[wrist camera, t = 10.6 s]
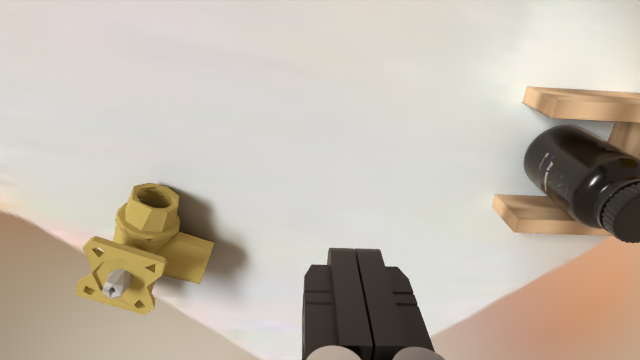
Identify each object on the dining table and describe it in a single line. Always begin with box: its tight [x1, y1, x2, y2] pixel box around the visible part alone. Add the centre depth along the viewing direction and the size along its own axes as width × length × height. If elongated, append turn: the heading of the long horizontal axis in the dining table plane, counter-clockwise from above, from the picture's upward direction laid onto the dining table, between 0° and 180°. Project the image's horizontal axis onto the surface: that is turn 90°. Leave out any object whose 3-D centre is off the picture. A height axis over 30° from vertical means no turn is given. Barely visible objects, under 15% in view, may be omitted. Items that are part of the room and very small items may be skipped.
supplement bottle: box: [524, 125, 640, 243], centre depth 35 cm, size 7×7×12 cm
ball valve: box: [76, 183, 214, 315], centre depth 39 cm, size 13×10×10 cm
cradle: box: [492, 87, 640, 236], centre depth 38 cm, size 12×13×5 cm
